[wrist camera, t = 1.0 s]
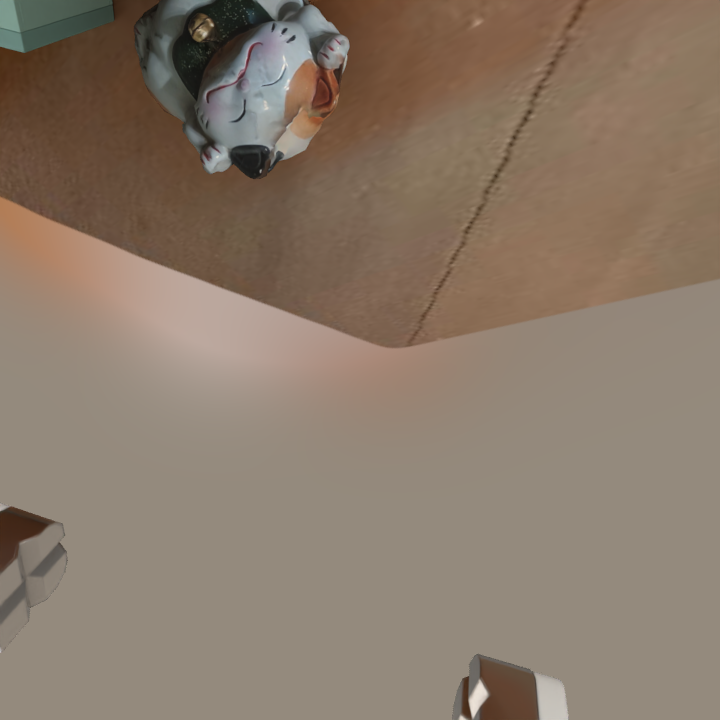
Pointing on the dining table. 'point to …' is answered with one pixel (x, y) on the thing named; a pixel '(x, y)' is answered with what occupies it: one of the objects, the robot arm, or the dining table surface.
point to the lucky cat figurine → (242, 76)
